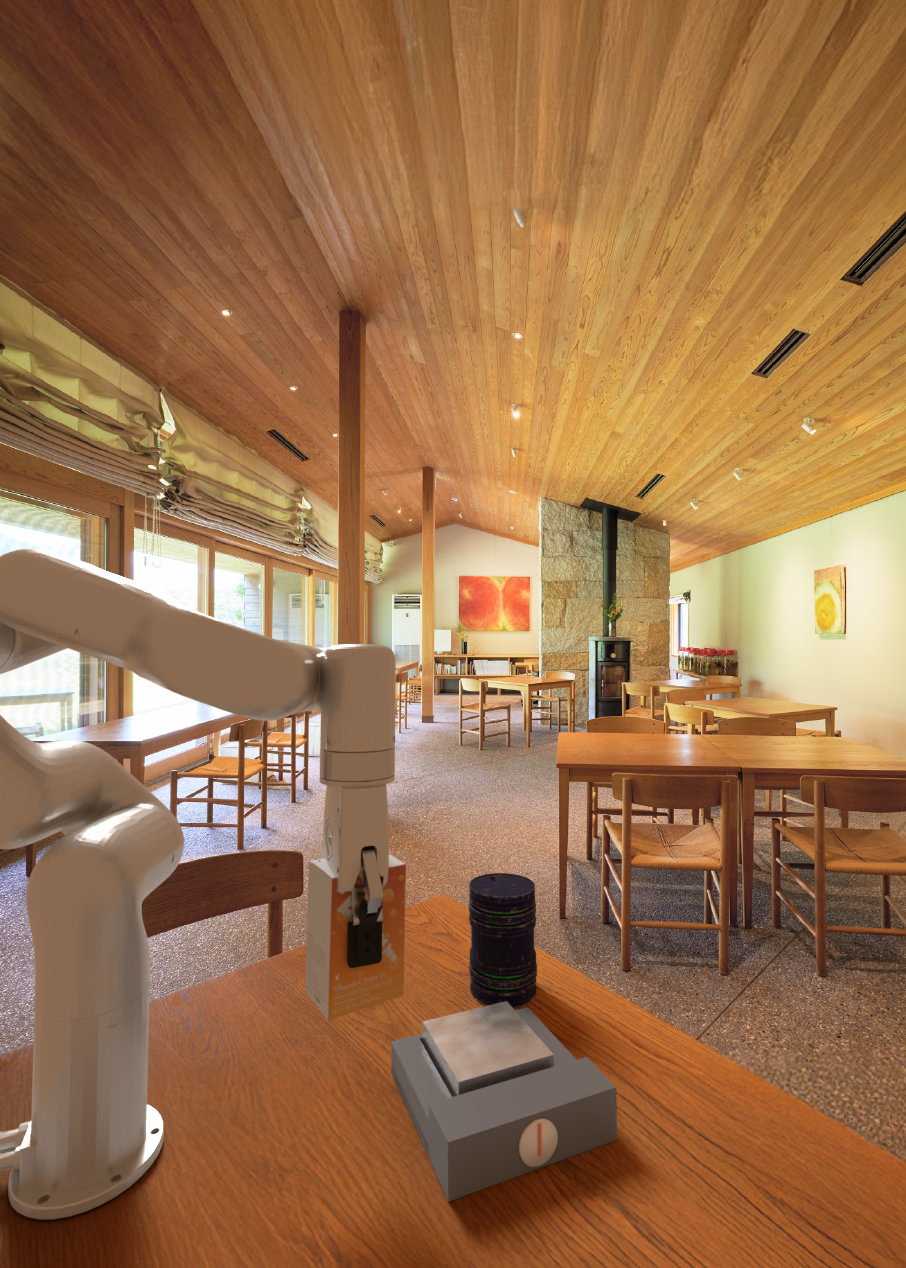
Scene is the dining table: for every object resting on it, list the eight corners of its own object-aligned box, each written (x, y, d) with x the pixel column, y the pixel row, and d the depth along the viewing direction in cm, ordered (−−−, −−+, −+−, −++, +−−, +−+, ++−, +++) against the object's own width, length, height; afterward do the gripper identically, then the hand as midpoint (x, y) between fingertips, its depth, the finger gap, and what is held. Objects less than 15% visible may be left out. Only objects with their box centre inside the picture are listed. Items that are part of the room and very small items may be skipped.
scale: (450, 1206, 52) (450, 1146, 52) (391, 1072, 69) (391, 1027, 69) (620, 1143, 58) (619, 1090, 59) (528, 1035, 76) (527, 995, 76)
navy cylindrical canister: (551, 998, 84) (549, 890, 85) (490, 1016, 80) (489, 902, 81) (514, 966, 93) (513, 869, 94) (457, 980, 89) (457, 878, 90)
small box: (327, 1024, 54) (330, 878, 55) (304, 992, 60) (306, 859, 60) (406, 997, 59) (407, 862, 59) (377, 969, 64) (379, 846, 65)
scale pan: (458, 1113, 59) (458, 1082, 59) (422, 1047, 69) (422, 1021, 70) (554, 1083, 63) (553, 1054, 64) (506, 1026, 74) (506, 1001, 74)
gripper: (307, 755, 67) (304, 917, 66) (337, 784, 51) (334, 999, 50) (372, 752, 70) (370, 907, 69) (420, 778, 54) (418, 981, 53)
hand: (355, 944), depth 59 cm, fingers closed on small box, 7 cm apart
